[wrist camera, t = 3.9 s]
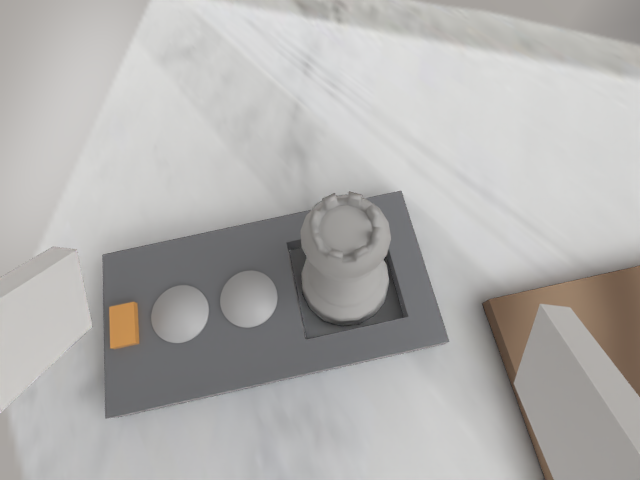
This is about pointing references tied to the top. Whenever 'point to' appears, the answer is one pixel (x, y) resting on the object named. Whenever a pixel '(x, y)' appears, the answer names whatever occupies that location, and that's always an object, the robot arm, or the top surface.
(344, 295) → the rook chess piece
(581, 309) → the walnut pad
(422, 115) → the top surface
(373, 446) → the top surface
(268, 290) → the gray slotted board
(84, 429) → the top surface
